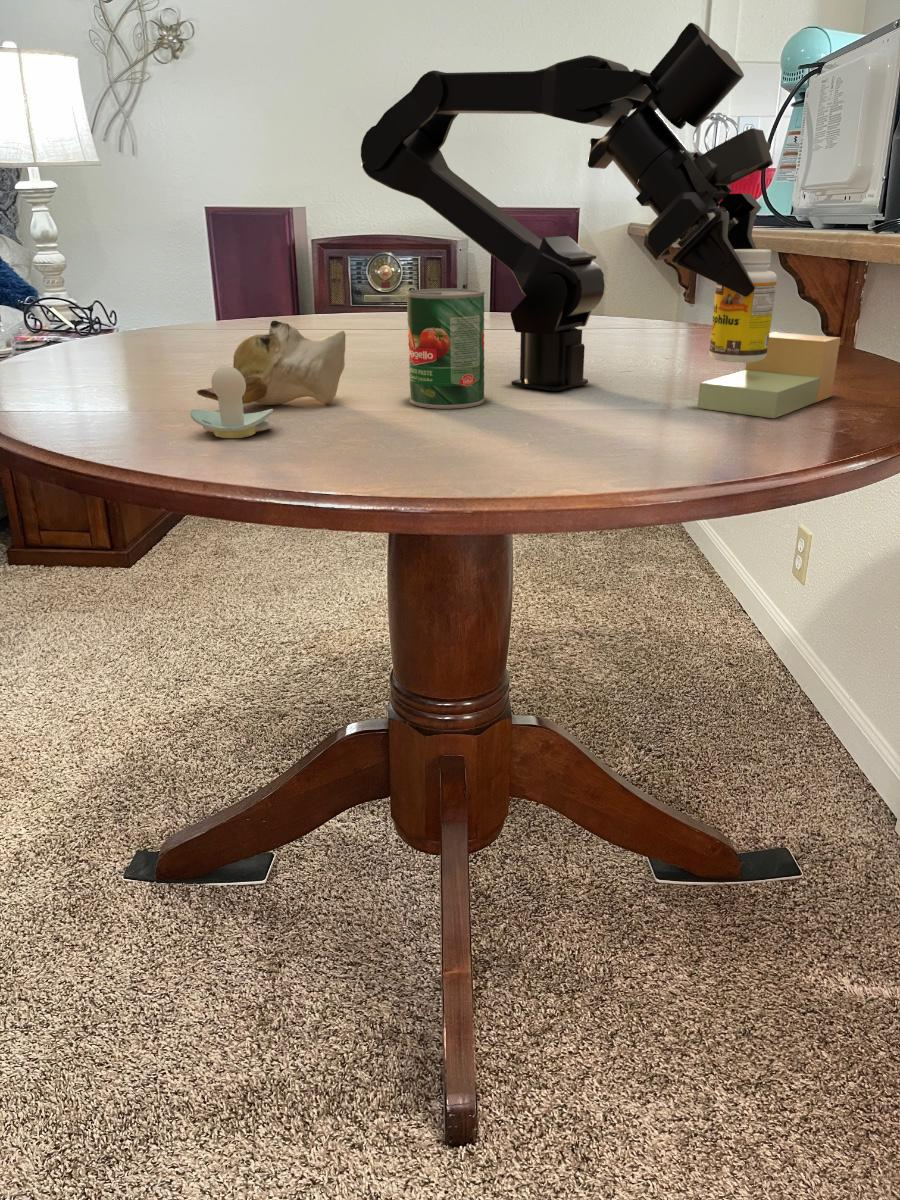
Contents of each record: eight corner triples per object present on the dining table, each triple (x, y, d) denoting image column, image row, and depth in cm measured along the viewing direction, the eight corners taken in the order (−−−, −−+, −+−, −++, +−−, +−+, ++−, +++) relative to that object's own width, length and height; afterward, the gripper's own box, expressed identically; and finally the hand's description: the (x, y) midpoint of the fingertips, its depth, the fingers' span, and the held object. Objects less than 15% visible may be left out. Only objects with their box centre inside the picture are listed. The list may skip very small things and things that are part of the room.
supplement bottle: (697, 357, 91) (707, 249, 86) (742, 353, 92) (754, 247, 88) (731, 365, 86) (744, 251, 82) (778, 361, 88) (793, 250, 83)
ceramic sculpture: (339, 320, 85) (183, 332, 85) (349, 410, 89) (200, 422, 89) (346, 310, 95) (207, 321, 95) (356, 391, 99) (221, 402, 99)
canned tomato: (497, 397, 95) (498, 289, 91) (463, 411, 89) (462, 295, 84) (432, 392, 98) (430, 287, 94) (395, 405, 92) (391, 293, 88)
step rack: (697, 408, 89) (703, 346, 86) (758, 388, 98) (765, 331, 96) (774, 418, 84) (783, 353, 81) (831, 396, 93) (840, 337, 91)
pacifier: (205, 428, 84) (187, 441, 78) (198, 360, 82) (178, 368, 76) (282, 427, 84) (270, 440, 78) (277, 359, 82) (263, 367, 76)
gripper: (691, 86, 74) (808, 229, 73) (752, 105, 89) (850, 225, 88) (598, 191, 81) (704, 323, 80) (669, 193, 96) (759, 305, 95)
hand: (759, 290), depth 86 cm, fingers closed on supplement bottle, 5 cm apart
